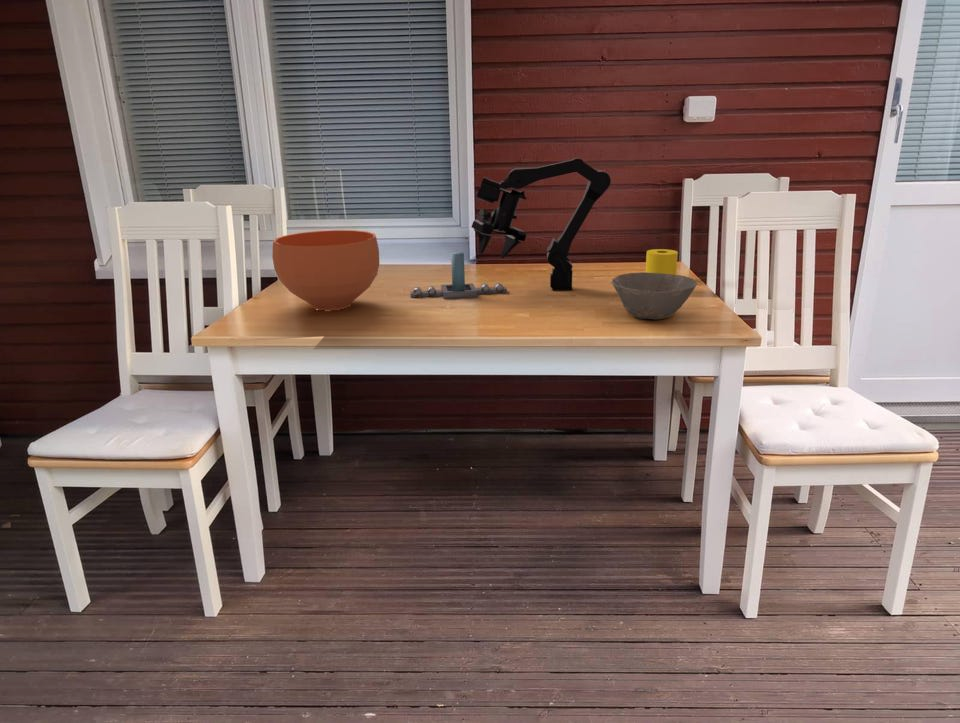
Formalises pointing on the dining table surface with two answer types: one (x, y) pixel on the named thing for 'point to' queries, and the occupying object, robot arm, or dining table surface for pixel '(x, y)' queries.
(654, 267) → the tape roll
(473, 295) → the grey square frame handle
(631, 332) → the dining table surface
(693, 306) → the dining table surface
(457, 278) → the pin
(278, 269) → the flowerpot
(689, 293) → the ceramic bowl
